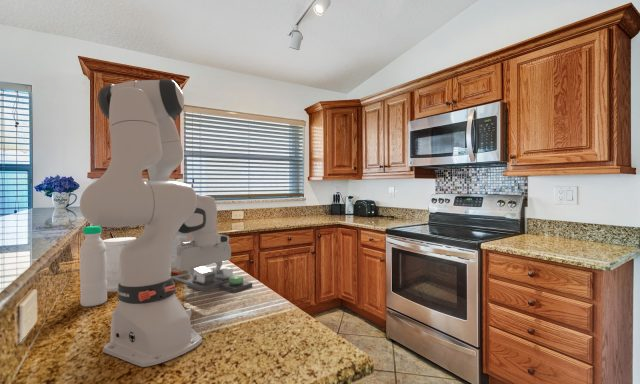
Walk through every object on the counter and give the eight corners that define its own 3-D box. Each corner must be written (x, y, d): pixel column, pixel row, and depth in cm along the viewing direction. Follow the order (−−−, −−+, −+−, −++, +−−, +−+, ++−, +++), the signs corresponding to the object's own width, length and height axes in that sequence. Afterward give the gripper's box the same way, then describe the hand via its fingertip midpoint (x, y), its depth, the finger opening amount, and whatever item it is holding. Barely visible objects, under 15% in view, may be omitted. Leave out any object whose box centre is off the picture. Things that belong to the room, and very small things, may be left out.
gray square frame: (217, 279, 126) (217, 274, 126) (188, 287, 116) (188, 282, 116) (200, 274, 133) (200, 269, 133) (172, 281, 124) (172, 276, 124)
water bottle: (93, 308, 97) (91, 228, 96) (74, 306, 98) (72, 227, 98) (112, 300, 104) (111, 225, 103) (94, 298, 105) (93, 224, 105)
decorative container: (119, 281, 124) (118, 236, 124) (145, 282, 123) (144, 237, 122) (93, 291, 113) (92, 241, 113) (122, 292, 111) (121, 242, 111)
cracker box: (200, 273, 134) (199, 225, 134) (187, 277, 129) (186, 227, 129) (180, 269, 142) (179, 223, 142) (168, 272, 137) (167, 225, 136)
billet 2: (232, 281, 119) (232, 268, 119) (223, 283, 116) (223, 270, 116) (221, 278, 123) (221, 265, 123) (212, 280, 120) (212, 267, 120)
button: (246, 288, 112) (246, 276, 112) (234, 292, 108) (234, 280, 108) (237, 285, 115) (237, 274, 115) (226, 289, 111) (225, 277, 111)
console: (252, 289, 113) (252, 282, 113) (233, 296, 106) (233, 288, 106) (238, 285, 118) (238, 279, 118) (220, 291, 111) (219, 284, 111)
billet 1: (213, 285, 114) (214, 273, 113) (203, 288, 111) (205, 275, 110) (202, 278, 118) (203, 266, 117) (192, 281, 115) (194, 268, 114)
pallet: (239, 284, 119) (239, 277, 119) (204, 295, 107) (204, 287, 107) (222, 279, 126) (222, 272, 126) (187, 289, 114) (187, 281, 114)
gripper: (181, 244, 103) (182, 286, 103) (233, 236, 119) (233, 272, 120) (172, 242, 107) (173, 282, 107) (223, 235, 123) (223, 269, 124)
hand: (205, 277), depth 114 cm, fingers open, 8 cm apart
